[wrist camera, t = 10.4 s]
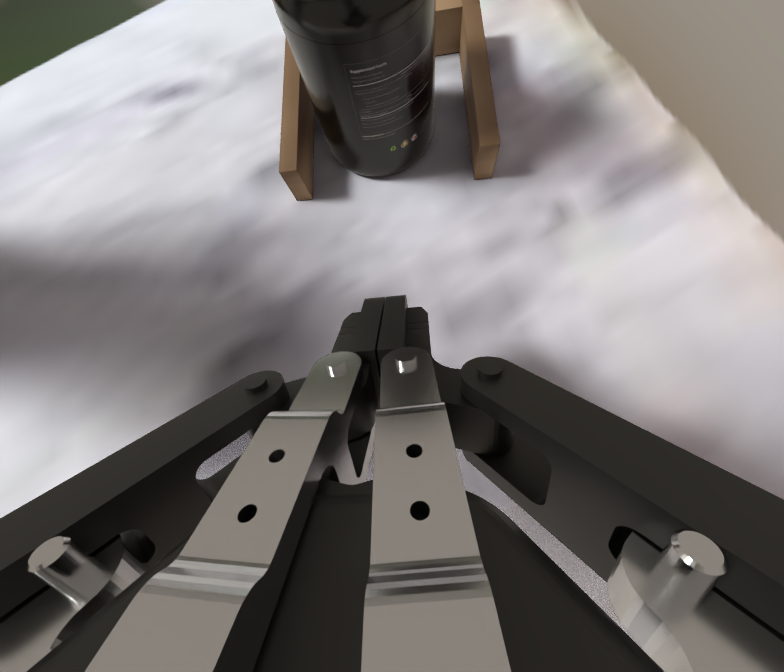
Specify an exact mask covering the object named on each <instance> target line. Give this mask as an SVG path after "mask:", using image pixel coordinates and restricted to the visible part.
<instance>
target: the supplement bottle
mask: <svg viewBox="0 0 784 672" xmlns="http://www.w3.org/2000/svg"><path fill="white" fill-rule="evenodd" d="M272 1H273V3H274V6H275V9H276V12H277V15H278V17H279V20H280V23H281V25H282V28H283V30H284V33H285V35H286V38H287V41H288V43H289V46H290V48H291V51H292V53H293V56H294V58H295V61H296V64H297V66H298V69H299V71H300V74H301V76H302V79H303V82H304V84H305V87H306V89H307V92H308V94H309V97H310V99H311V102H312V105H313V107H314V110H315V112H316V115H317V117H318V120H319V123H320V125H321V128H322V130H323V133H324V135H325V138H326V140H327V143H328V145H329V147H330V149H331V151H332V153H333V155H334V156H335V158H336V159H337V160H338V161H339V162H340V163H341V164H342V165H343V166H344V167H345V168H347V169H349V170H350V171H352V172H354V173H357V174H360V175H364V176H371V177H380V176H387V175H391V174H395V173H397V172H400V171H402V170H404V169H406V168H407V167H409V166H410V165H412V164H413V163H414V162H415V161H416V160H417V159H418V158H419V157H420V156H421V155H422V154H423V153H424V151H425V150H426V148H427V146H428V144H429V142H430V140H431V137H432V133H433V127H434V85H435V10H436V0H272Z"/></svg>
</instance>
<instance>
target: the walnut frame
mask: <svg viewBox="0 0 784 672" xmlns="http://www.w3.org/2000/svg"><path fill="white" fill-rule="evenodd" d="M455 52H459V54H460V63H461V71H462V80H463V88H464V96H465V105H466V113H467V122H468V130H469V139H470V147H471V155H472V164H473V172H474V180H476V179H484V178H492V174H493V170H494V166H495V162H496V158H497V154H498V150H499V146H500V139H499V132H498V125H497V118H496V112H495V105H494V98H493V91H492V84H491V77H490V70H489V63H488V57H487V50H486V43H485V36H484V29H483V22H482V15H481V8H480V2H479V0H436V10H435V56H437V55H443V54H449V53H455ZM313 148H314V107H313V105H312V102H311V99H310V97H309V94H308V92H307V89H306V87H305V84H304V82H303V79H302V76H301V74H300V71H299V69H298V66H297V64H296V61H295V58H294V56H293V53H292V51H291V48H290V46H289V43H288V41H287V38H286V42H285V62H284V83H283V103H282V123H281V143H280V164H279V173H280V174H281V176H282V178H283V179H284V181H285V182H286V184H287V185H288V187H289V189H290V190H291V192H292V193H293V195H294V196H295V198H296V200H297V201H299V200H307V199H312V198H313Z"/></svg>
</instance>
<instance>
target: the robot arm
mask: <svg viewBox="0 0 784 672" xmlns="http://www.w3.org/2000/svg"><path fill="white" fill-rule="evenodd" d="M338 335H339V336H338V337H337V340H336V342H335V345H334V347H333V350H332V353H331V354H328V355H326V356H324V357H322V358H321V359H319V360H318V361H317V362H316V363H315V364H314V366H313V367H312V369H311V371H310V373H309V375H308V376H307V377H306V378H303V379H299V380H295V381H292V382H288V383H285V382H284V379H283V377H282V375H281V374H280V373H278V372H275V371H262V372H258V373H255V374H252V375H249V376H247V377H246V378H244V379H242V380H240V381H238V382H237V383H235V384H233V385H232V386H230V387H228V388H226V389H225V390H223V391H221V392H219V393H218V394H216V395H214V396H212V397H211V398H209V399H207V400H205V401H204V402H202V403H200V404H199V405H197V406H195V407H193V408H192V409H190V410H188V411H186V412H185V413H183V414H181V415H179V416H178V417H176V418H174V419H172V420H171V421H169V422H167V423H166V424H164V425H162V426H160V427H159V428H157V429H155V430H153V431H152V432H150V433H148V434H146V435H145V436H143V437H141V438H139V439H138V440H136V441H134V442H133V443H131V444H129V445H127V446H126V447H124V448H122V449H120V450H119V451H117V452H115V453H113V454H112V455H110V456H108V457H106V458H105V459H103V460H101V461H99V462H98V463H96V464H94V465H93V466H91V467H89V468H87V469H86V470H84V471H82V472H80V473H79V474H77V475H75V476H73V477H72V478H70V479H68V480H66V481H65V482H63V483H61V484H60V485H58V486H56V487H54V488H53V489H51V490H49V491H47V492H46V493H44V494H42V495H40V496H39V497H37V498H35V499H33V500H32V501H30V502H28V503H27V504H25V505H23V506H21V507H20V508H18V509H16V510H14V511H13V512H11V513H9V514H7V515H6V516H4V517H2V518H0V672H784V500H783V499H781V498H779V497H777V496H775V495H773V494H771V493H769V492H767V491H765V490H763V489H761V488H759V487H757V486H755V485H753V484H751V483H749V482H747V481H745V480H743V479H741V478H739V477H737V476H735V475H733V474H731V473H729V472H727V471H725V470H723V469H721V468H719V467H717V466H715V465H713V464H711V463H709V462H707V461H705V460H703V459H702V458H700V457H698V456H696V455H694V454H692V453H690V452H688V451H686V450H684V449H682V448H680V447H678V446H676V445H674V444H672V443H670V442H668V441H666V440H664V439H662V438H660V437H658V436H656V435H654V434H652V433H650V432H648V431H646V430H644V429H642V428H640V427H638V426H636V425H634V424H632V423H630V422H628V421H626V420H624V419H622V418H620V417H618V416H616V415H614V414H612V413H610V412H608V411H606V410H604V409H602V408H600V407H598V406H596V405H594V404H592V403H590V402H588V401H586V400H584V399H582V398H580V397H578V396H576V395H574V394H572V393H570V392H568V391H566V390H564V389H562V388H560V387H558V386H556V385H555V384H553V383H551V382H549V381H547V380H545V379H543V378H541V377H539V376H537V375H535V374H533V373H531V372H529V371H527V370H525V369H523V368H521V367H519V366H517V365H515V364H513V363H511V362H509V361H507V360H504V359H501V358H497V357H478V358H474V359H472V360H470V361H468V362H466V363H465V364H464V365H463V367H462V368H461V370H460V369H453V368H449V367H445V366H443V365H441V364H439V363H437V362H436V361H435V360H434V359H433V357H432V355H431V347H430V336H429V324H428V313H427V312H426V311H425V310H424V309H423V308H422V307H414V308H408V306H407V298H406V295H401V296H390V297H386V299H385V297H379V298H368V299H365V300H364V303H363V307H362V310H361V312H357V313H351V314H350V315H349V316H348V317H347V318H346V319H345V320H344V321H343V324H342V327H341V330H340V332H339V334H338ZM246 432H247V433H248V435H249V437H250V439H251V441H250V443H249V444H248V446H247V447H246V449H245V451H244V452H243V454H242V455H240V456H239V457H238V458H236V459H235V460H233V461H232V462H231V463H229V464H228V465H227V466H225V467H224V468H222V469H221V470H220V471H218V472H217V473H216V474H214V475H213V476H211V477H209V478H207V479H204V480H198V479H196V472H197V469H198V468H199V466H200V465H201V464H202V463H203V462H204V461H205V460H207V459H208V458H209V457H211V456H212V455H214V454H215V453H217V452H218V451H220V450H221V449H223V448H224V447H225V446H227V445H228V444H230V443H231V442H233V441H234V440H236V439H237V438H239V437H240V436H241V435H243V434H244V433H246ZM373 445H374V469H373V480H370V481H367V482H365V481H366V477H367V472H368V468H369V463H370V459H371V454H372V450H373ZM455 448H457V449H461V450H462V451H463V454H464V456H465V458H466V459H467V460H468V461H469V462H470V463H471V464H472V465H473V466H475V467H476V468H477V469H478V470H479V471H480V472H481V473H483V474H484V475H485V476H486V477H487V478H488V479H489V480H491V481H492V482H493V483H494V484H495V485H496V486H497V487H499V488H500V489H501V490H502V491H503V492H504V493H505V494H507V495H508V496H509V497H510V498H511V499H512V500H513V501H515V502H516V503H517V504H518V505H519V506H520V507H521V508H523V509H524V510H525V511H526V512H527V513H528V514H529V515H531V516H532V517H533V518H534V519H535V520H536V521H537V522H539V523H540V524H541V525H542V526H543V527H544V528H545V529H547V530H548V531H549V532H550V533H551V534H552V535H553V536H555V537H556V538H557V539H558V540H559V541H560V542H561V543H563V544H564V545H565V546H566V547H567V548H568V549H569V550H571V551H572V552H573V553H574V554H575V555H576V556H577V557H579V558H580V559H581V560H582V561H583V562H584V563H585V564H587V565H588V566H589V567H590V568H591V569H592V570H593V571H595V572H596V573H597V574H598V575H599V576H600V577H601V578H603V579H604V580H605V581H606V582H607V583H608V584H607V590H608V596H609V600H610V603H611V606H612V608H613V611H614V613H615V615H616V616H617V618H618V620H619V621H620V623H621V624H622V626H623V627H624V628H625V630H626V631H627V632H628V633H629V634H630V636H631V637H632V638H633V639H634V640H635V641H636V642H637V643H638V645H639V646H640V647H641V648H642V649H643V650H642V649H641V648H640V647H639V646H638V645H637V644H636V643H635V642H634V641H633V640H632V639H631V638H630V637H629V636H628V635H627V634H626V633H625V632H624V631H623V630H622V629H621V628H620V627H619V626H618V625H617V624H616V623H615V622H614V621H613V620H612V619H611V618H610V617H609V616H608V615H607V614H606V613H605V612H604V611H603V610H602V609H601V608H600V607H599V606H598V605H597V604H596V603H595V602H594V601H593V600H592V599H591V598H590V597H589V596H588V595H587V594H586V593H585V592H584V591H583V590H582V589H581V588H580V587H579V586H578V585H577V584H576V583H575V582H574V581H573V580H572V579H571V578H570V577H569V576H568V575H567V574H566V573H565V572H564V571H563V570H562V569H561V568H560V567H559V566H558V565H556V564H555V563H554V562H553V561H552V560H551V559H550V558H549V557H548V556H547V555H546V554H545V553H544V552H543V551H542V550H541V549H540V548H539V547H538V546H537V545H536V544H535V543H534V542H533V541H532V540H531V539H530V538H529V537H528V536H527V535H526V534H525V533H524V532H523V531H522V530H521V529H520V528H519V527H518V526H517V525H516V524H515V523H514V522H513V521H512V520H511V519H510V518H509V517H508V516H507V515H506V514H504V513H503V512H502V511H500V510H499V509H498V508H497V507H495V506H494V505H492V504H491V503H489V502H488V501H486V500H484V499H483V498H481V497H479V496H477V495H475V494H473V493H471V492H468V491H465V488H464V484H463V480H462V475H461V471H460V467H459V462H458V458H457V454H456V449H455Z"/></svg>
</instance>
